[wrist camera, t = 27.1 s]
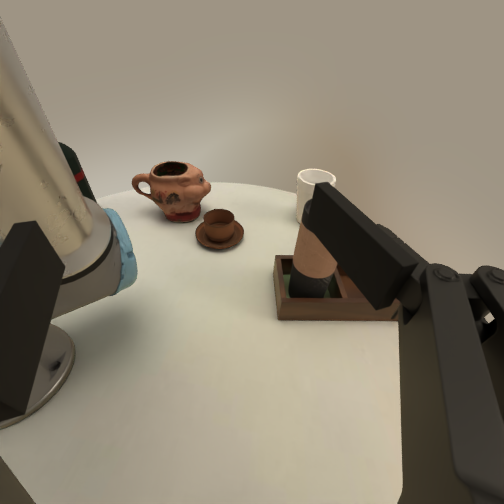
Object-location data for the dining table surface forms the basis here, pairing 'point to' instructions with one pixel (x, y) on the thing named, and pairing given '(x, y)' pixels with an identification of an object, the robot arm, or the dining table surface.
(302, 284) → the travel mug
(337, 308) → the divided box
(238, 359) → the dining table surface
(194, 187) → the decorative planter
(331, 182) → the foam cup
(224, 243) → the cup and saucer
